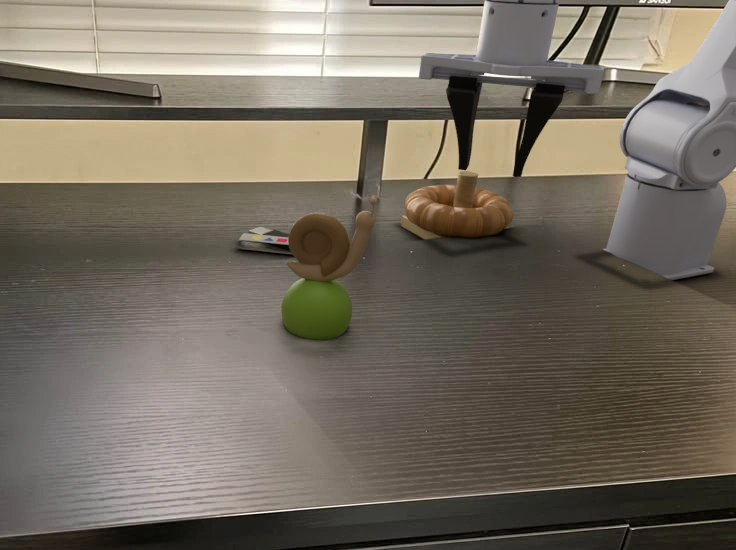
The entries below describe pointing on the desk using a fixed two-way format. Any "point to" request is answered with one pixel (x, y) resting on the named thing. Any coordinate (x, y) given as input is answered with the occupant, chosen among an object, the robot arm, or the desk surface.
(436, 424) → the desk surface
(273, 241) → the grey game box
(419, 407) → the desk surface
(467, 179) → the post
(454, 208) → the ring
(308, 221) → the snail figurine
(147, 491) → the desk surface
